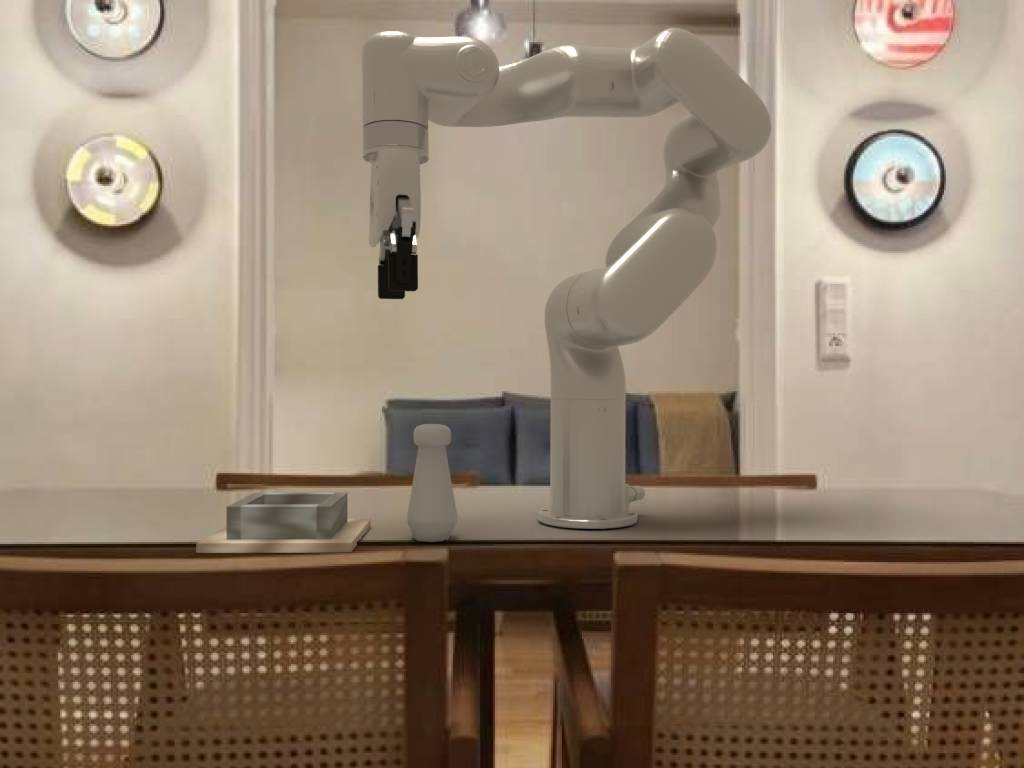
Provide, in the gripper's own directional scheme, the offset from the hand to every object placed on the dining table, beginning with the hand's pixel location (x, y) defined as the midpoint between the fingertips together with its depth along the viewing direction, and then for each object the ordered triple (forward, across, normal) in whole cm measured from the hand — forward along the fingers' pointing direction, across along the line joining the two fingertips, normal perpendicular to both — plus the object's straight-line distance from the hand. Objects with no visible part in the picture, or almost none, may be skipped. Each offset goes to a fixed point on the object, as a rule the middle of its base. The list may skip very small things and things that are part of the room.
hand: (397, 294), depth 97 cm
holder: (+28, -1, -12) cm, 30 cm away
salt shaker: (+28, +3, +3) cm, 28 cm away
